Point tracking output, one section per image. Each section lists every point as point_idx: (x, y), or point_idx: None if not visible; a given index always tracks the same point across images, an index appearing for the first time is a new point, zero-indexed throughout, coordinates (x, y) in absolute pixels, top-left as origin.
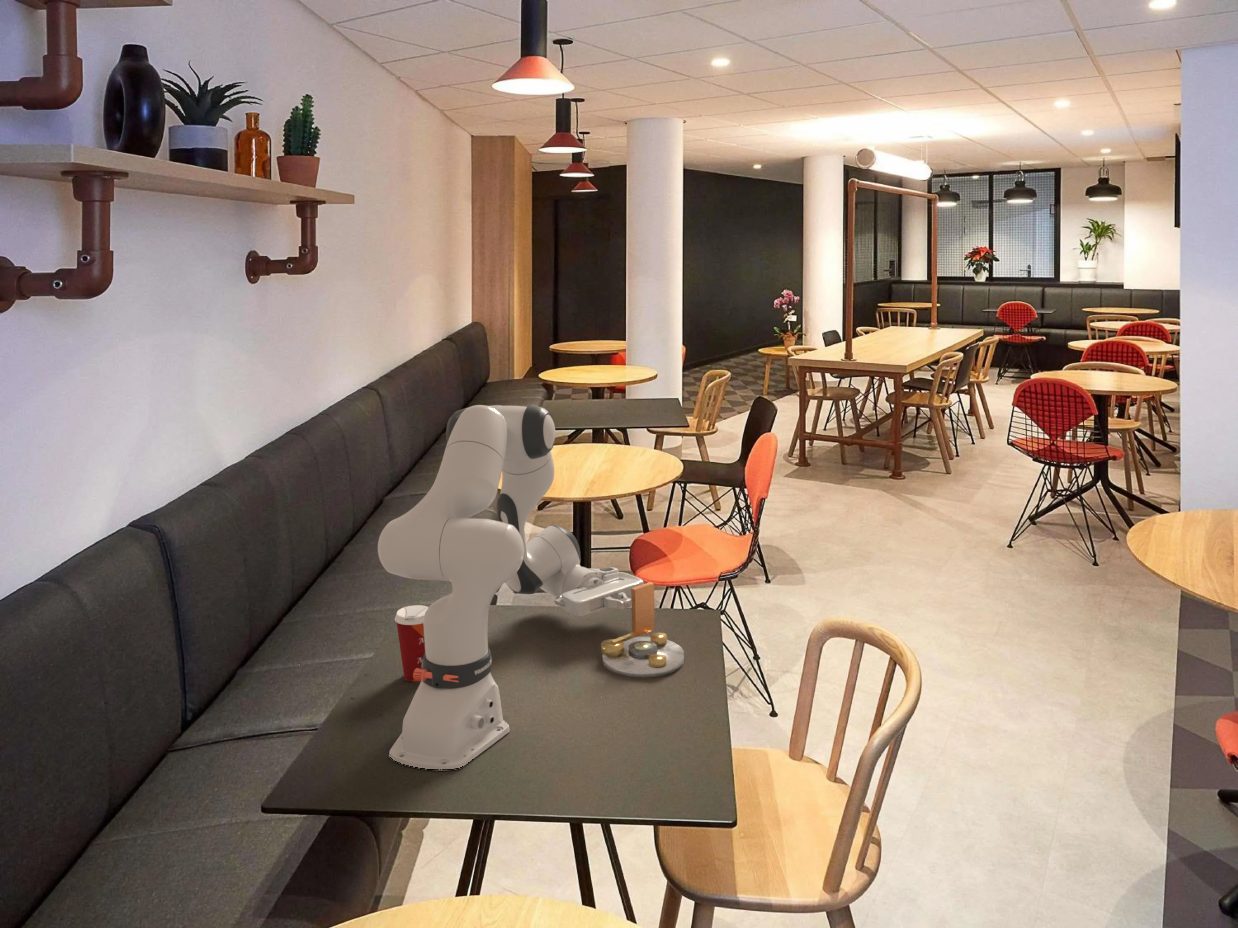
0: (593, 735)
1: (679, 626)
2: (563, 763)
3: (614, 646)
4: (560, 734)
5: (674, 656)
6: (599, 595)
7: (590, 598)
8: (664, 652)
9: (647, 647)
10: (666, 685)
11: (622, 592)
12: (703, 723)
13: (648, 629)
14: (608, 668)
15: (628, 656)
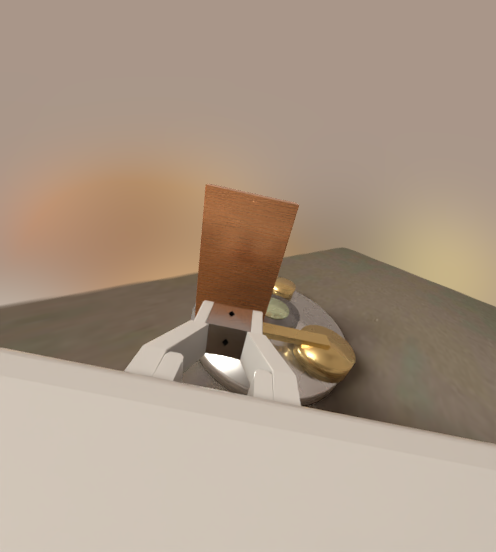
0: (400, 296)
1: (48, 346)
2: (432, 296)
3: (328, 335)
4: (437, 314)
5: None
6: (357, 423)
7: (457, 441)
8: None
9: (271, 300)
10: None
11: (131, 366)
12: (306, 259)
13: None
14: None
15: (299, 329)
